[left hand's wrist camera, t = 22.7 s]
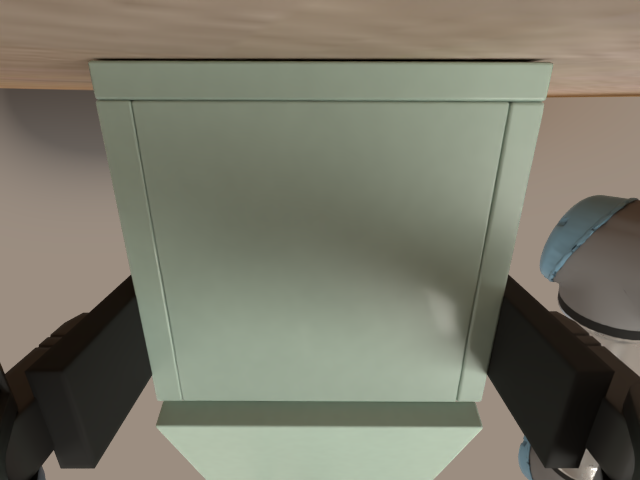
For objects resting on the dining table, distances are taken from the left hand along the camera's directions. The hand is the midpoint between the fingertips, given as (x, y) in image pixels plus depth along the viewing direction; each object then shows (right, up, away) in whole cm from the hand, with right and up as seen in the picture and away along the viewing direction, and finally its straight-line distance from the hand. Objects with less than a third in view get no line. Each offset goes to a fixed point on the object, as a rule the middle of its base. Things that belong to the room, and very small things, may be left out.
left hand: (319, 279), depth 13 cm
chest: (0, +8, 0) cm, 8 cm away
